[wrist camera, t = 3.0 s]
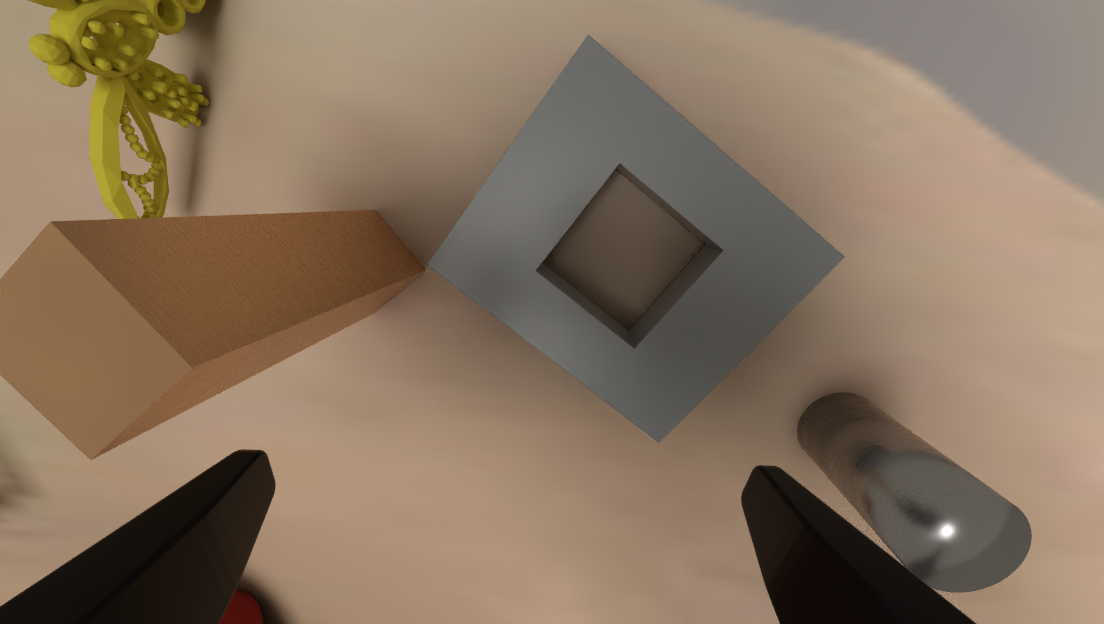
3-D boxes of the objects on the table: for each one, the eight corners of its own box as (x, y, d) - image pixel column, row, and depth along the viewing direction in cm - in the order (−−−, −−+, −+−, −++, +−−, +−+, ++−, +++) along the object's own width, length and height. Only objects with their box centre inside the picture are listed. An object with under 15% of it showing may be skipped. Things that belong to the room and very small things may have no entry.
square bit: (425, 270, 20) (192, 367, 8) (372, 313, 20) (91, 459, 9) (374, 210, 19) (50, 221, 8) (323, 256, 20) (-46, 331, 8)
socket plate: (810, 249, 18) (844, 256, 16) (650, 414, 21) (658, 442, 18) (588, 58, 17) (588, 34, 15) (446, 256, 19) (426, 264, 17)
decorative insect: (300, 113, 23) (155, 242, 18) (243, 93, 23) (81, 216, 18) (167, -288, 13) (-303, -273, 7) (60, -327, 13) (-494, -341, 7)
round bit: (897, 424, 20) (1058, 541, 13) (836, 476, 21) (957, 611, 14) (840, 377, 19) (975, 472, 13) (780, 432, 20) (876, 548, 14)
